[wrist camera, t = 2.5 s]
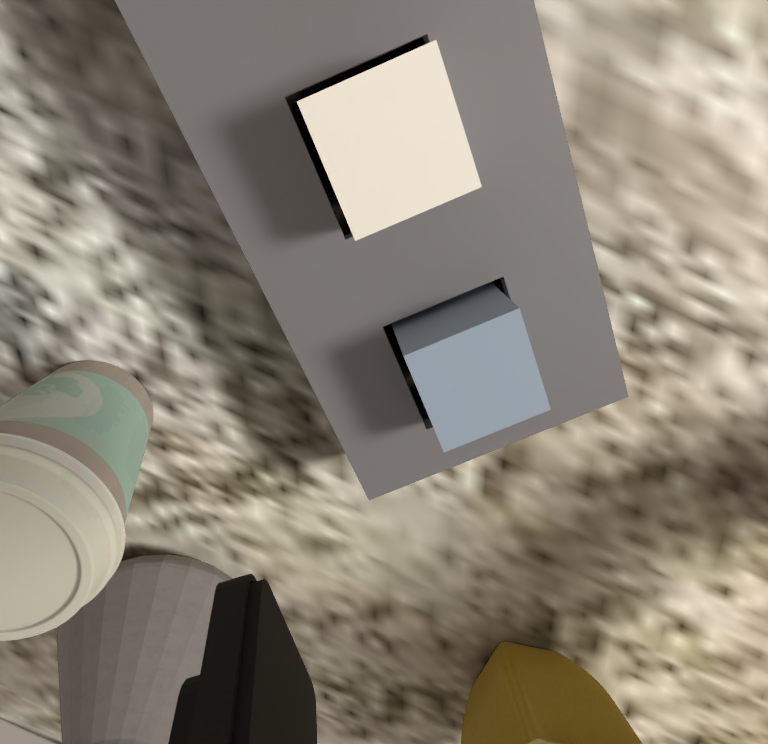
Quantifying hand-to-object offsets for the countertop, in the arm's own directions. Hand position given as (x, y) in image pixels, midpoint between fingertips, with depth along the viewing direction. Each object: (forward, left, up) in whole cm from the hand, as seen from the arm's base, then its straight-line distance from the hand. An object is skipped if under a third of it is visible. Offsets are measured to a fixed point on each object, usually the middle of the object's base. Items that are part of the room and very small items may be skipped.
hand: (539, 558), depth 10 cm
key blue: (-2, +4, -19) cm, 19 cm away
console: (-2, -6, -22) cm, 23 cm away
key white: (-2, -6, -19) cm, 20 cm away
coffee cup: (+17, +1, -22) cm, 28 cm away
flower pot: (+3, +32, -22) cm, 39 cm away
